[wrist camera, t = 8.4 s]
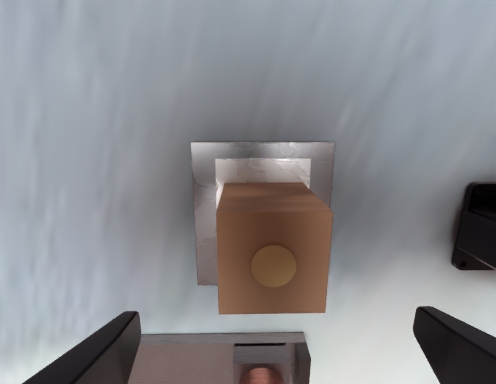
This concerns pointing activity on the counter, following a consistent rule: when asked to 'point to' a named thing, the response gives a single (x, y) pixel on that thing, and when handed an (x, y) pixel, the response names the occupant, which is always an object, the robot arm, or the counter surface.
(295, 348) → the rail
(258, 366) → the handle
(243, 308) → the block
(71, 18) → the counter surface
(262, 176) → the plate
